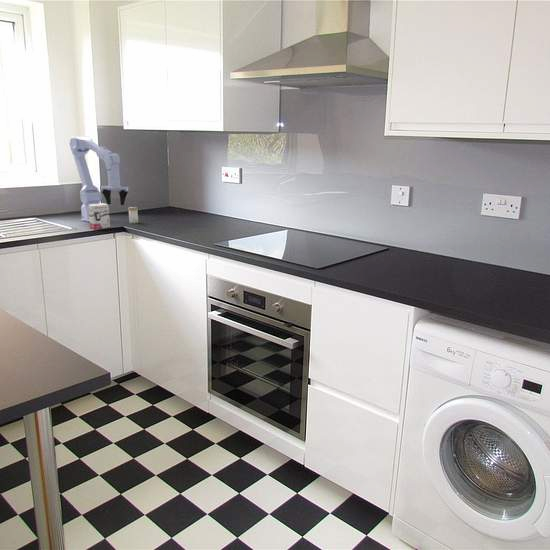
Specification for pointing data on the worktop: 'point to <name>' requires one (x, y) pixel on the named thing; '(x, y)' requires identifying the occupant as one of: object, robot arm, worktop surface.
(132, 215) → the spice jar
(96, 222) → the ink box
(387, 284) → the worktop surface
